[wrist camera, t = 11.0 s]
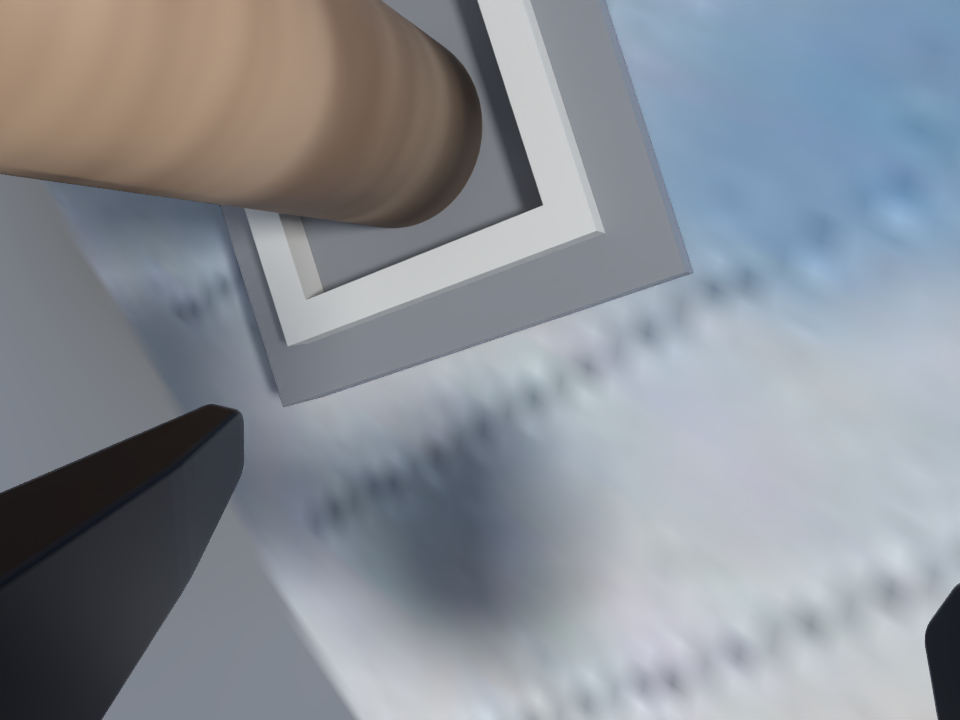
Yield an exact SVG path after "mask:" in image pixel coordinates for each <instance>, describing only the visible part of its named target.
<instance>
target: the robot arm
mask: <svg viewBox="0 0 960 720" xmlns="http://www.w3.org/2000/svg"><path fill="white" fill-rule="evenodd" d="M243 464H244V421H243V416H242V414H241V413H240V412H239V411H238V410H236V409H232V408H228V407H224V406H219V405H215V404H209V405H206V406H203V407H200V408H198V409H196V410H193V411H191V412H189V413H186V414H184V415H182V416H179V417H177V418H175V419H173V420H170V421H168V422H166V423H163V424H161V425H158V426H156V427H154V428H151V429H149V430H147V431H144V432H142V433H140V434H137V435H135V436H133V437H130V438H128V439H126V440H123V441H121V442H119V443H116V444H114V445H112V446H109V447H107V448H105V449H102V450H100V451H98V452H95V453H93V454H91V455H88V456H86V457H83V458H81V459H79V460H77V461H74V462H72V463H70V464H67V465H65V466H63V467H60V468H58V469H55V470H53V471H51V472H48V473H46V474H44V475H41V476H39V477H37V478H35V479H32V480H30V481H28V482H25V483H23V484H20V485H18V486H16V487H13V488H11V489H9V490H6V491H4V492H2V493H0V720H102V718H103V717H104V715H105V714H106V712H107V711H108V709H109V707H110V706H111V704H112V702H113V701H114V699H115V698H116V696H117V695H118V693H119V692H120V690H121V688H122V687H123V685H124V683H125V682H126V681H127V679H128V677H129V676H130V674H131V673H132V671H133V669H134V668H135V666H136V665H137V663H138V662H139V660H140V659H141V657H142V655H143V654H144V652H145V651H146V649H147V647H148V646H149V644H150V643H151V641H152V640H153V638H154V636H155V635H156V633H157V632H158V630H159V628H160V627H161V625H162V624H163V622H164V621H165V619H166V618H167V616H168V614H169V613H170V611H171V610H172V608H173V607H174V605H175V603H176V602H177V600H178V599H179V597H180V596H181V594H182V592H183V591H184V589H185V587H186V586H187V584H188V582H189V581H190V579H191V577H192V575H193V573H194V571H195V569H196V567H197V565H198V563H199V561H200V559H201V557H202V555H203V553H204V551H205V549H206V547H207V545H208V543H209V541H210V538H211V536H212V534H213V532H214V530H215V528H216V526H217V524H218V522H219V520H220V518H221V516H222V514H223V512H224V510H225V508H226V506H227V504H228V502H229V499H230V497H231V495H232V493H233V491H234V489H235V487H236V485H237V483H238V481H239V479H240V476H241V473H242V469H243ZM925 648H926V654H927V660H928V665H929V671H930V677H931V683H932V688H933V694H934V700H935V706H936V712H937V717H938V720H960V583H959V584H958V585H956V586H955V587H954V589H953V590H952V591H951V593H950V594H949V596H948V597H947V598H946V600H945V601H944V603H943V604H942V605H941V607H940V608H939V609H938V611H937V612H936V614H935V615H934V616H933V618H932V619H931V621H930V622H929V624H928V626H927V629H926V633H925Z"/></svg>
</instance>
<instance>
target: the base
mask: <svg viewBox="0 0 960 720" xmlns="http://www.w3.org/2000/svg"><path fill="white" fill-rule="evenodd" d="M381 1H383V2H384V3H386V4H387V5H388V6H390V7H391V8H392V9H394V10H395V11H396V12H398V13H399V14H400V15H402V16H403V17H405V18H406V19H407V20H409V21H410V22H411V23H413V24H414V25H415V26H417V27H418V28H419V29H421V30H422V31H424V32H425V33H426V34H428V35H429V36H430V37H432V38H433V39H434V40H436V41H437V42H438V43H440V44H441V45H443V46H444V47H445V48H447V49H448V50H449V51H450V52H451V53H452V54H454V55H455V56H456V57H457V59H458V60H459V61H460V62H461V63H462V64H463V66H464V67H465V69H466V70H467V72H468V73H469V75H470V77H471V79H472V81H473V83H474V85H475V87H476V90H477V94H478V97H479V100H480V106H481V111H482V124H483V126H482V140H481V146H480V152H479V155H478V158H477V162H476V165H475V167H474V169H473V172H472V174H471V176H470V178H469V180H468V182H467V183H466V185H465V187H464V188H463V190H462V191H461V192H460V194H459V195H458V196H457V197H456V199H455V200H454V201H453V202H452V203H451V204H450V205H449V206H448V207H446V208H445V209H444V210H443V211H441V212H440V213H439V214H437V215H436V216H434V217H432V218H431V219H429V220H427V221H424V222H422V223H420V224H417V225H413V226H409V227H403V228H382V227H375V226H368V225H361V224H354V223H347V222H339V221H332V220H325V219H318V218H311V217H304V216H297V215H289V214H282V213H275V212H268V211H261V210H254V209H247V208H240V207H232V206H225V205H220V207H221V210H222V213H223V217H224V220H225V223H226V226H227V229H228V233H229V236H230V239H231V242H232V245H233V248H234V252H235V255H236V258H237V261H238V264H239V268H240V271H241V274H242V277H243V280H244V284H245V287H246V290H247V293H248V296H249V299H250V303H251V306H252V309H253V312H254V315H255V319H256V322H257V325H258V328H259V331H260V335H261V338H262V341H263V344H264V347H265V350H266V354H267V357H268V360H269V363H270V366H271V370H272V373H273V376H274V379H275V382H276V386H277V389H278V392H279V395H280V398H281V401H282V405H283V407H286V406H290V405H294V404H297V403H301V402H305V401H309V400H313V399H317V398H321V397H324V396H327V395H330V394H333V393H336V392H339V391H342V390H345V389H348V388H351V387H354V386H357V385H360V384H363V383H366V382H368V381H371V380H374V379H377V378H380V377H383V376H386V375H389V374H392V373H395V372H398V371H401V370H404V369H407V368H410V367H413V366H416V365H419V364H422V363H425V362H428V361H431V360H434V359H437V358H440V357H443V356H446V355H449V354H452V353H455V352H458V351H461V350H464V349H467V348H470V347H473V346H476V345H479V344H482V343H485V342H488V341H491V340H494V339H497V338H500V337H503V336H506V335H509V334H512V333H515V332H518V331H521V330H524V329H527V328H530V327H533V326H536V325H539V324H542V323H545V322H548V321H551V320H554V319H557V318H560V317H563V316H566V315H569V314H572V313H575V312H578V311H581V310H584V309H587V308H590V307H593V306H596V305H599V304H601V303H604V302H607V301H610V300H613V299H616V298H619V297H622V296H625V295H628V294H631V293H634V292H637V291H640V290H643V289H646V288H649V287H652V286H655V285H658V284H661V283H664V282H667V281H670V280H673V279H676V278H679V277H682V276H685V275H688V274H691V273H693V270H692V267H691V264H690V261H689V258H688V254H687V251H686V248H685V245H684V242H683V239H682V236H681V233H680V230H679V227H678V224H677V221H676V217H675V214H674V211H673V208H672V205H671V202H670V199H669V196H668V193H667V190H666V187H665V183H664V180H663V177H662V174H661V171H660V168H659V165H658V162H657V159H656V156H655V153H654V150H653V146H652V143H651V140H650V137H649V134H648V131H647V128H646V125H645V122H644V119H643V116H642V113H641V109H640V106H639V103H638V100H637V97H636V94H635V91H634V88H633V85H632V82H631V79H630V76H629V72H628V69H627V66H626V63H625V60H624V57H623V54H622V51H621V48H620V45H619V42H618V38H617V35H616V32H615V29H614V26H613V23H612V20H611V17H610V14H609V11H608V8H607V5H606V1H605V0H381Z"/></svg>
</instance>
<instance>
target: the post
mask: <svg viewBox="0 0 960 720" xmlns="http://www.w3.org/2000/svg"><path fill="white" fill-rule="evenodd" d="M482 126H483V124H482V111H481V106H480V100H479V97H478V94H477V90H476V87H475V85H474V83H473V81H472V79H471V77H470V75H469V73H468V72H467V70H466V69H465V67H464V66H463V64H462V63H461V62H460V61H459V60H458V59H457V57H456V56H455V55H454V54H452V53H451V52H450V51H449V50H448V49H447V48H445V47H444V46H443V45H441V44H440V43H438V42H437V41H436V40H434V39H433V38H432V37H430V36H429V35H428V34H426V33H425V32H424V31H422V30H421V29H419V28H418V27H417V26H415V25H414V24H413V23H411V22H410V21H409V20H407V19H406V18H405V17H403V16H402V15H400V14H399V13H398V12H396V11H395V10H394V9H392V8H391V7H390V6H388V5H387V4H386V3H384V2H383V1H381V0H0V174H5V175H11V176H18V177H26V178H33V179H40V180H47V181H54V182H61V183H68V184H75V185H83V186H90V187H97V188H104V189H111V190H118V191H125V192H133V193H140V194H147V195H154V196H161V197H168V198H175V199H182V200H190V201H197V202H204V203H211V204H218V205H225V206H232V207H240V208H247V209H254V210H261V211H268V212H275V213H282V214H289V215H297V216H304V217H311V218H318V219H325V220H332V221H339V222H347V223H354V224H361V225H368V226H375V227H382V228H403V227H409V226H413V225H417V224H420V223H422V222H424V221H427V220H429V219H431V218H432V217H434V216H436V215H437V214H439V213H440V212H441V211H443V210H444V209H445V208H446V207H448V206H449V205H450V204H451V203H452V202H453V201H454V200H455V199H456V197H457V196H458V195H459V194H460V192H461V191H462V190H463V188H464V187H465V185H466V183H467V182H468V180H469V178H470V176H471V174H472V172H473V169H474V167H475V165H476V162H477V158H478V155H479V152H480V146H481V140H482Z"/></svg>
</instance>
